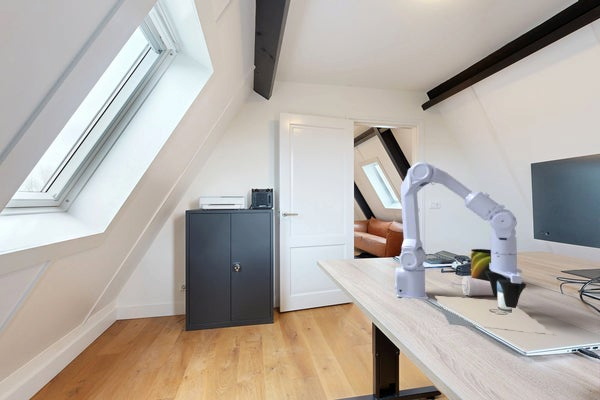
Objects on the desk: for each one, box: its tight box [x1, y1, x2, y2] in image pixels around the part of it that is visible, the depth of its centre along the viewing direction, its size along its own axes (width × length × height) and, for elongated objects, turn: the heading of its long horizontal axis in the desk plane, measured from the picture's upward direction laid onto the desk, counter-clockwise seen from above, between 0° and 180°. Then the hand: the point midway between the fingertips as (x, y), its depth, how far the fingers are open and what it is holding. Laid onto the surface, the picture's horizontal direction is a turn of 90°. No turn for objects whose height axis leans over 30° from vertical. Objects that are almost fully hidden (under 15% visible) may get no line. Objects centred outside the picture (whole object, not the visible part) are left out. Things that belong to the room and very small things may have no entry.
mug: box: [470, 248, 491, 281], centre depth 103 cm, size 10×14×12 cm
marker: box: [497, 281, 512, 313], centre depth 74 cm, size 3×3×8 cm
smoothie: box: [451, 275, 494, 297], centre depth 87 cm, size 6×6×14 cm
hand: (504, 301), depth 74 cm, fingers open, 7 cm apart
